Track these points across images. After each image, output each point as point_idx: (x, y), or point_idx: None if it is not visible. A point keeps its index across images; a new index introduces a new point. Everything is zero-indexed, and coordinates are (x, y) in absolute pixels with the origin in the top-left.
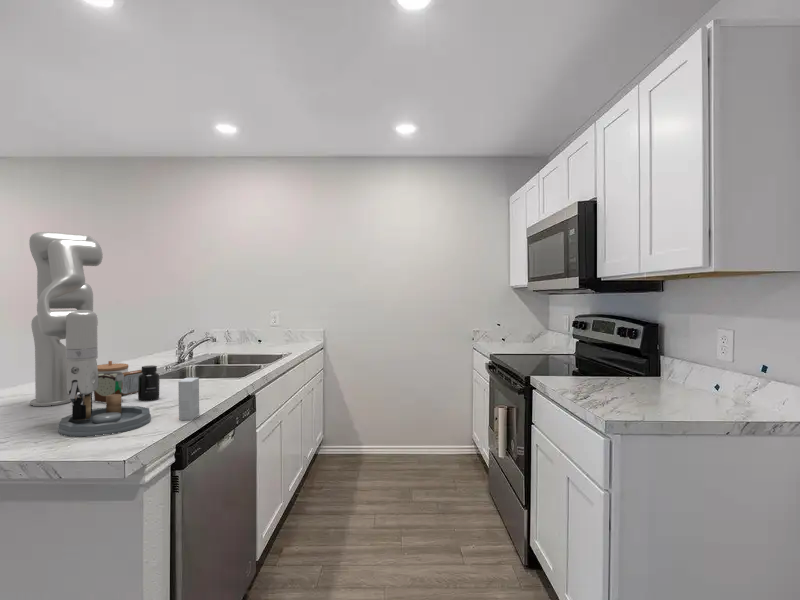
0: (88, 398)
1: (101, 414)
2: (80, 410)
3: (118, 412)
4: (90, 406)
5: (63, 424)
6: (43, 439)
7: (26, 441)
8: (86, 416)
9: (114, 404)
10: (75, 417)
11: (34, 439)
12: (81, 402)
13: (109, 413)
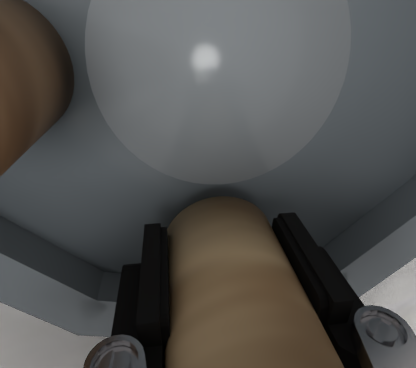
0: (317, 366)
1: (168, 138)
2: (344, 284)
3: (11, 1)
4: (241, 263)
5: (392, 271)
6: (403, 273)
7: (398, 314)
8: (263, 219)
9: (5, 49)
10: None
11: (382, 303)
12: (414, 351)
13: (139, 69)
